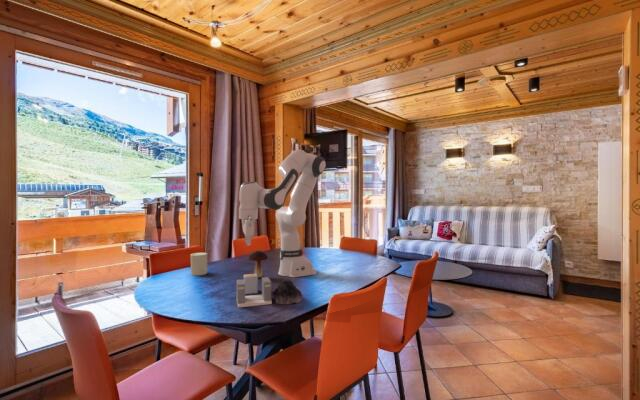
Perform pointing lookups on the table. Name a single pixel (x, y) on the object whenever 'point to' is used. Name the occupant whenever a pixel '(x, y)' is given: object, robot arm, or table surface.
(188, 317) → the table surface
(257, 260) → the decorative mushroom
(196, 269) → the can
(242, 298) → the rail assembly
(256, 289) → the block
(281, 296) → the dark grey rock
